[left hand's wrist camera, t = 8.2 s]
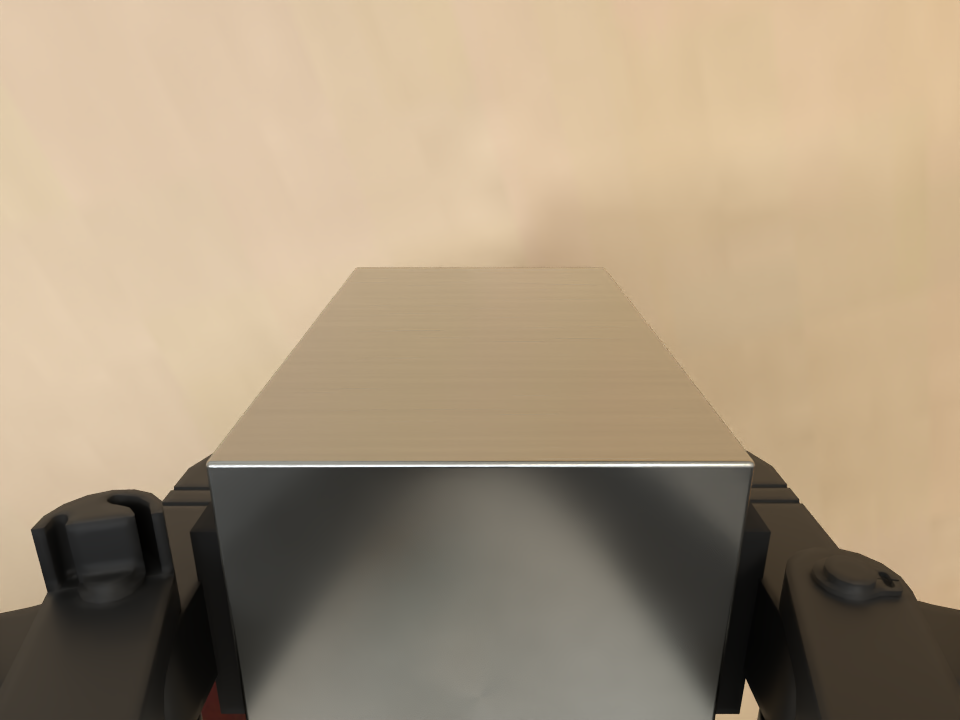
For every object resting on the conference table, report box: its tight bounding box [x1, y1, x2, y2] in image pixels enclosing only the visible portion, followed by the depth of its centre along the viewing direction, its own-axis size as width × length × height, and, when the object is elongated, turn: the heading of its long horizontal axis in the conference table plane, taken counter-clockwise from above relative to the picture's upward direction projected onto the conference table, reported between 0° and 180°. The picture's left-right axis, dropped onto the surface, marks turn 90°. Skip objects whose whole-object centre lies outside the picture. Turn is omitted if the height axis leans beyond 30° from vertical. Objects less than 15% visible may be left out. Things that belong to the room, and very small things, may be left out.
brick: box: [206, 267, 755, 720], centre depth 11 cm, size 5×6×8 cm
